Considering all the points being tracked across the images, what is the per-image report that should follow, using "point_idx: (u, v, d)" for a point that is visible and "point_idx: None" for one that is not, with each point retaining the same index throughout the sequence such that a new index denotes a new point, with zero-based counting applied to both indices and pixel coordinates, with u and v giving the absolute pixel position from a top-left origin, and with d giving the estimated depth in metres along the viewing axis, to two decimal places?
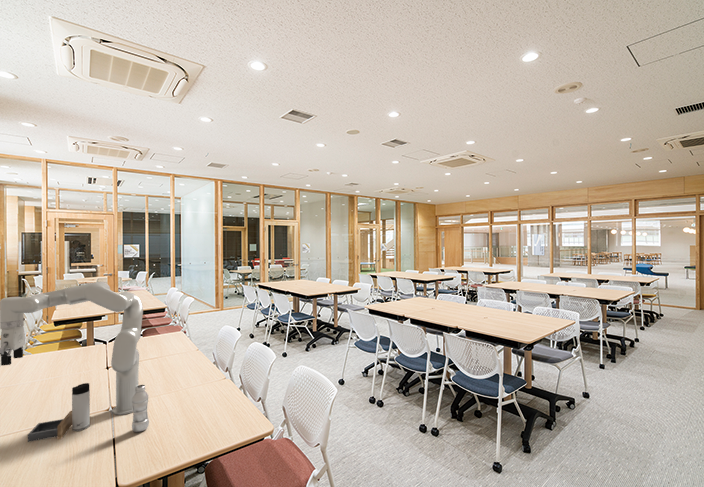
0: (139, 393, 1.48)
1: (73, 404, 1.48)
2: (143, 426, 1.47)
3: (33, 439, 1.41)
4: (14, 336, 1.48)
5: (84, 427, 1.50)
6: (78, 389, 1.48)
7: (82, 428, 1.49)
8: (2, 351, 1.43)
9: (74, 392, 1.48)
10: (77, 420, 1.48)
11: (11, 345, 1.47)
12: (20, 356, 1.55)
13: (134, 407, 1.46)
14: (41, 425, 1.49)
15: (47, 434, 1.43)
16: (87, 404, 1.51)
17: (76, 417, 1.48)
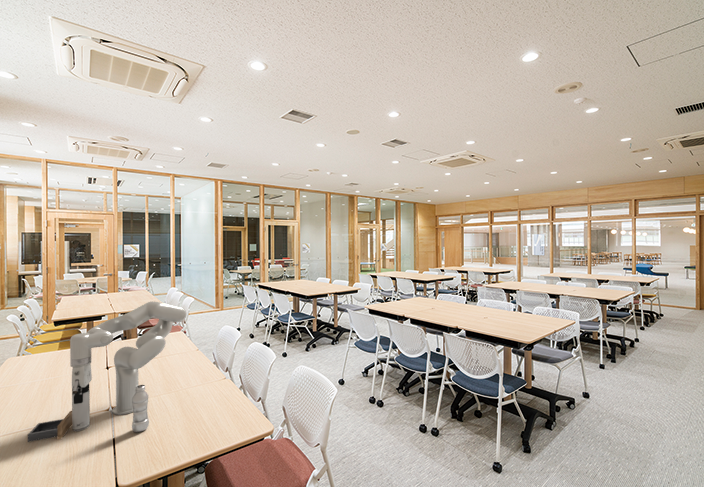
0: (139, 393, 1.47)
1: (73, 404, 1.48)
2: (143, 426, 1.47)
3: (33, 439, 1.41)
4: (84, 373, 1.48)
5: (84, 427, 1.50)
6: (78, 389, 1.48)
7: (82, 428, 1.49)
8: (76, 391, 1.45)
9: None
10: (77, 420, 1.48)
11: (82, 383, 1.47)
12: None
13: (134, 407, 1.46)
14: (41, 425, 1.49)
15: (47, 434, 1.43)
16: (87, 404, 1.51)
17: (76, 417, 1.48)
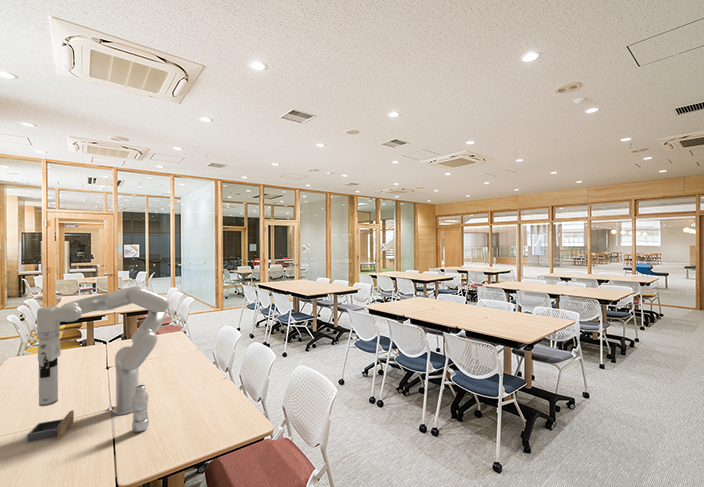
0: (139, 393, 1.47)
1: (40, 378, 1.44)
2: (143, 426, 1.47)
3: (33, 439, 1.41)
4: (51, 347, 1.44)
5: (51, 402, 1.45)
6: (45, 363, 1.44)
7: (49, 403, 1.45)
8: (42, 364, 1.40)
9: None
10: (44, 394, 1.44)
11: (49, 356, 1.43)
12: None
13: (134, 407, 1.46)
14: (41, 425, 1.49)
15: (47, 434, 1.43)
16: (55, 379, 1.47)
17: (43, 392, 1.44)
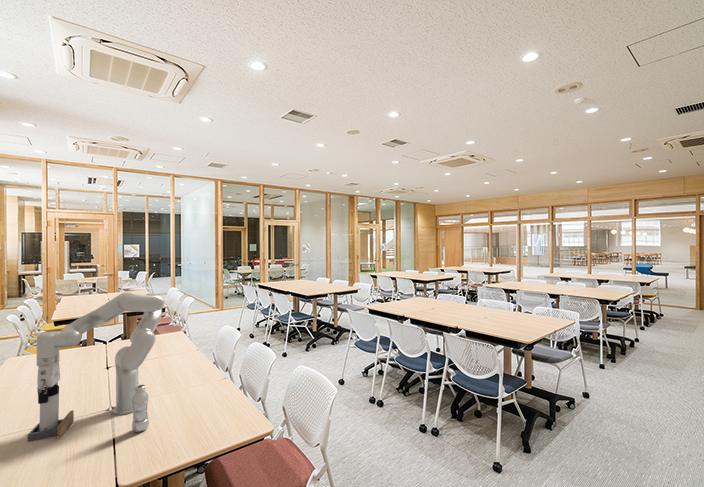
0: (139, 393, 1.47)
1: (41, 407, 1.44)
2: (143, 426, 1.47)
3: (33, 439, 1.41)
4: (51, 373, 1.44)
5: None
6: None
7: None
8: (40, 389, 1.39)
9: None
10: (44, 423, 1.44)
11: (48, 382, 1.43)
12: None
13: (134, 407, 1.46)
14: None
15: (47, 434, 1.43)
16: (56, 407, 1.47)
17: (43, 421, 1.44)
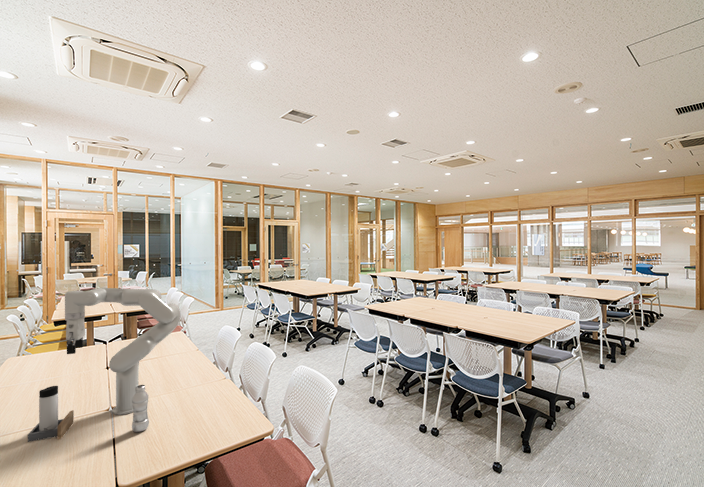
0: (139, 393, 1.48)
1: (40, 407, 1.44)
2: (143, 426, 1.47)
3: (33, 439, 1.41)
4: (78, 327, 1.59)
5: None
6: (45, 392, 1.44)
7: None
8: (69, 340, 1.54)
9: (41, 395, 1.44)
10: (44, 423, 1.44)
11: (75, 335, 1.57)
12: (80, 346, 1.66)
13: (134, 407, 1.46)
14: None
15: (47, 434, 1.43)
16: (55, 407, 1.47)
17: (43, 421, 1.44)
